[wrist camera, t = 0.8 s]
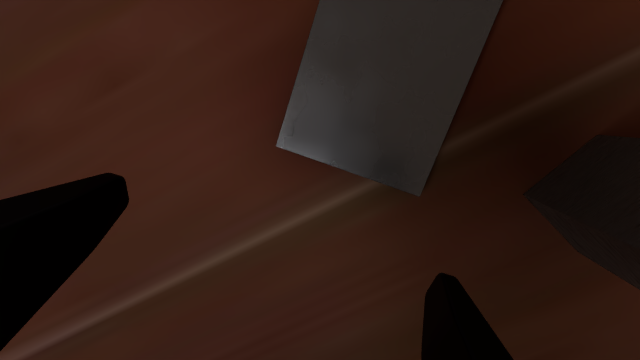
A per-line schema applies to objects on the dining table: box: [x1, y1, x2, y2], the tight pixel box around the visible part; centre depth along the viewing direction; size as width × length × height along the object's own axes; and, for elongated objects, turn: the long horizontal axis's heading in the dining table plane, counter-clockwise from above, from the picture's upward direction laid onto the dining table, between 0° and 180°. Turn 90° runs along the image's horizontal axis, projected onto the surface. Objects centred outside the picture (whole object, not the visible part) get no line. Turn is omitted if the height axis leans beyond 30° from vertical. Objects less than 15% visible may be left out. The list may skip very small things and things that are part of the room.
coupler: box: [276, 0, 503, 197], centre depth 17 cm, size 19×10×5 cm, turn 161°
